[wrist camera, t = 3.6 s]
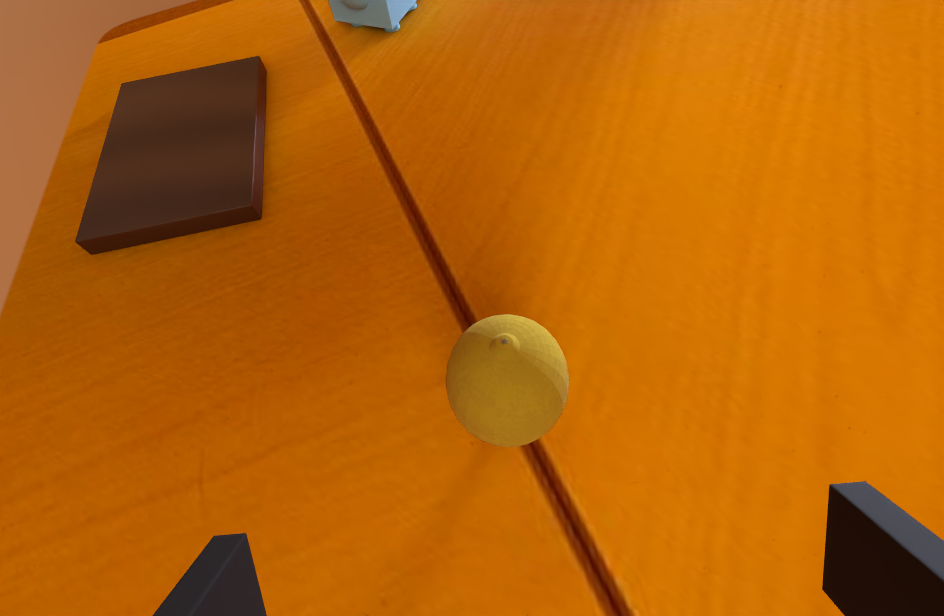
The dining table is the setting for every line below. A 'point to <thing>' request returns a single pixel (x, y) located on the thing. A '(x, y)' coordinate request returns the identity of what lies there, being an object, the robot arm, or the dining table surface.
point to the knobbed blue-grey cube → (372, 12)
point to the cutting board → (179, 157)
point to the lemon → (507, 380)
